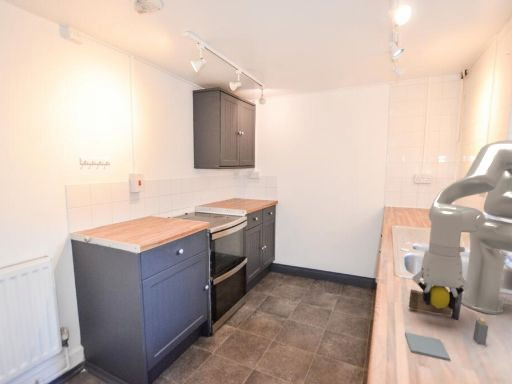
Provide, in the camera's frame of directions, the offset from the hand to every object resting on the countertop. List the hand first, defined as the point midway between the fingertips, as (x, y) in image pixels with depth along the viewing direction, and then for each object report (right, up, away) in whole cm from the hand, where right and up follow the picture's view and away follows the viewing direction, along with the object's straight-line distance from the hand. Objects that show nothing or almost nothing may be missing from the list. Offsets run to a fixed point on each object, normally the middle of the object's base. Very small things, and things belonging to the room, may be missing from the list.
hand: (438, 304), depth 85 cm
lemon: (0, -2, 0) cm, 2 cm away
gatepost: (+8, -7, +4) cm, 12 cm away
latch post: (+7, -8, -7) cm, 13 cm away
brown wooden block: (+2, -5, +7) cm, 8 cm away
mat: (-10, -8, -10) cm, 16 cm away
